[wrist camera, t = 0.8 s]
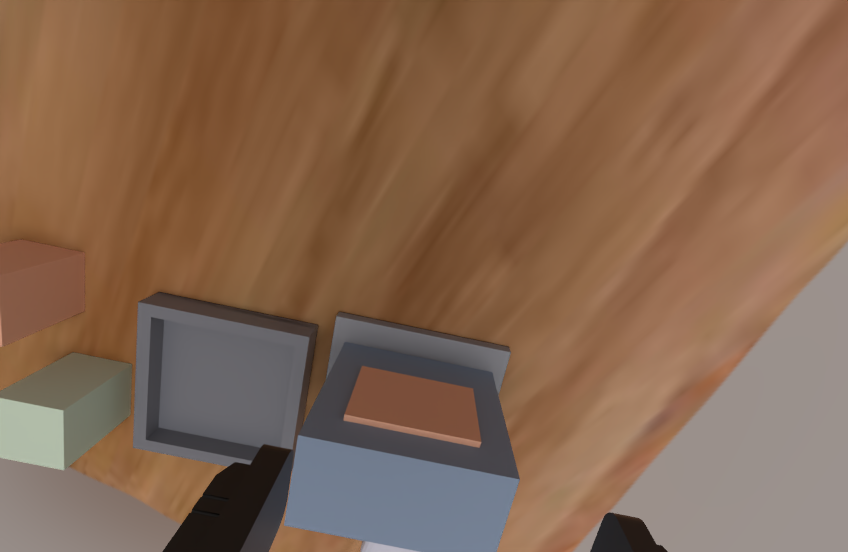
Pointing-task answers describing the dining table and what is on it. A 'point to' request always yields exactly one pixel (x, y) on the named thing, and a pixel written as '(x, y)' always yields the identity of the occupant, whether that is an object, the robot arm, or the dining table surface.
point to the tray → (218, 379)
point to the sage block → (63, 410)
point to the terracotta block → (38, 287)
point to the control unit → (406, 441)
